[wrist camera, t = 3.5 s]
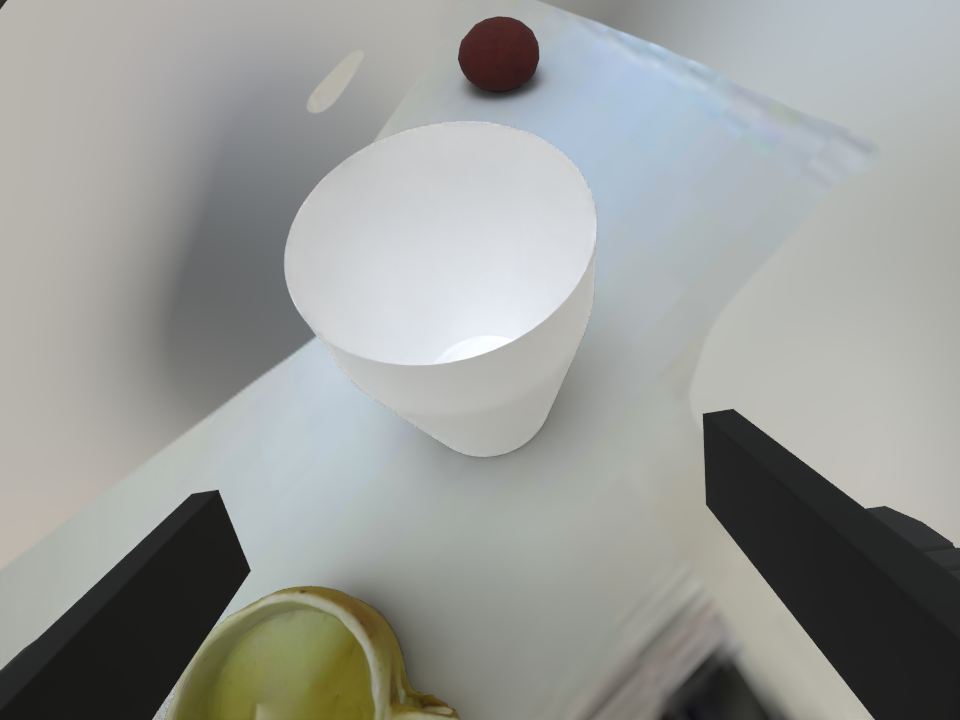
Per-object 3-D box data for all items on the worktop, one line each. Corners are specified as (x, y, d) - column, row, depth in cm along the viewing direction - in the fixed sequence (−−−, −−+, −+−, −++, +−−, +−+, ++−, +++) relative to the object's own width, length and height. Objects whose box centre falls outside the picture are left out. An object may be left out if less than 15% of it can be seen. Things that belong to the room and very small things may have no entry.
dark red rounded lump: (477, 60, 52) (469, -1, 47) (547, 64, 50) (547, 1, 45) (455, 100, 49) (444, 40, 44) (529, 106, 47) (527, 44, 42)
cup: (365, 423, 33) (212, 281, 18) (462, 295, 37) (405, 90, 22) (516, 522, 28) (484, 443, 13) (608, 363, 33) (662, 166, 18)
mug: (171, 782, 23) (71, 800, 15) (293, 581, 30) (265, 526, 22) (388, 898, 22) (394, 980, 14) (465, 661, 28) (495, 632, 21)
